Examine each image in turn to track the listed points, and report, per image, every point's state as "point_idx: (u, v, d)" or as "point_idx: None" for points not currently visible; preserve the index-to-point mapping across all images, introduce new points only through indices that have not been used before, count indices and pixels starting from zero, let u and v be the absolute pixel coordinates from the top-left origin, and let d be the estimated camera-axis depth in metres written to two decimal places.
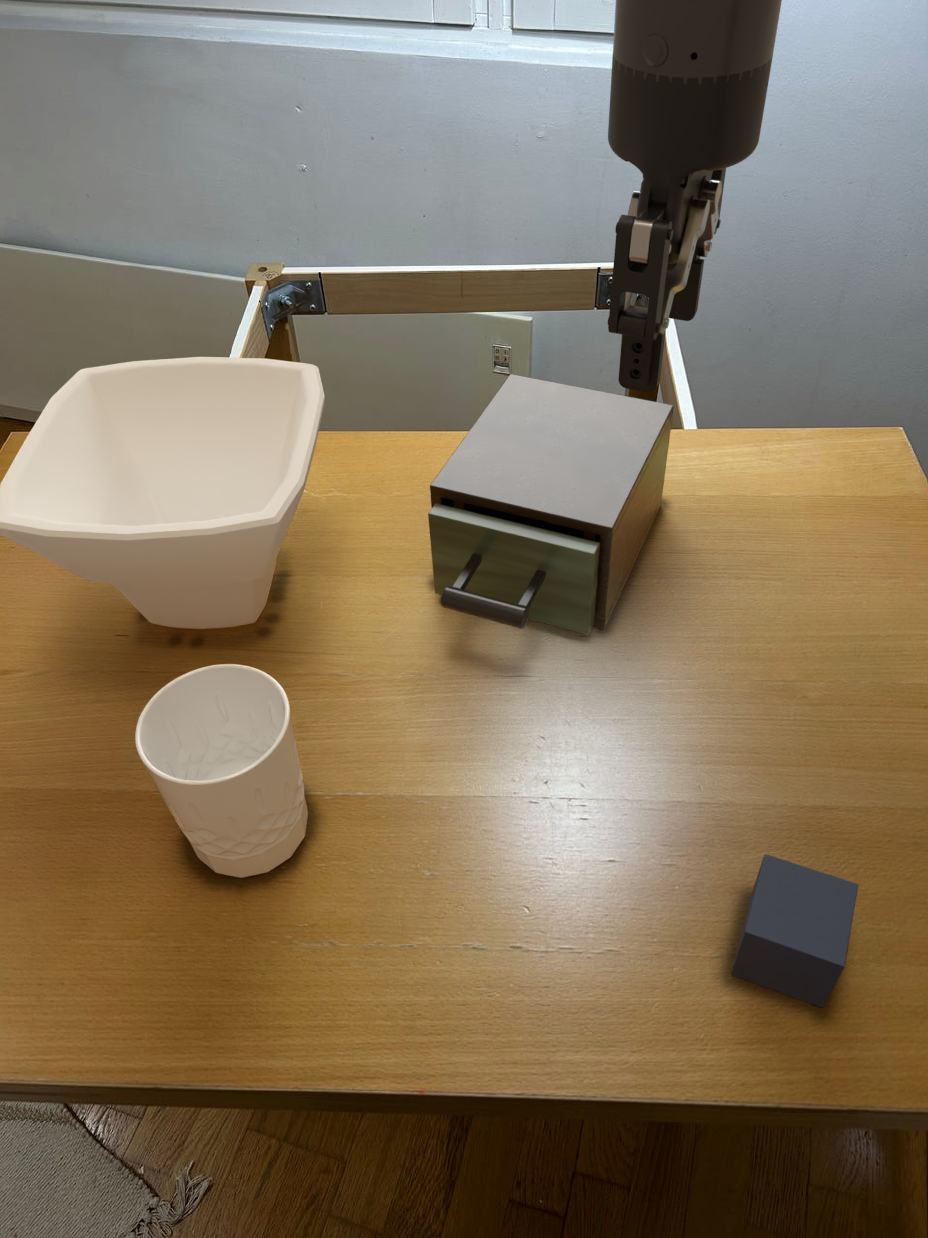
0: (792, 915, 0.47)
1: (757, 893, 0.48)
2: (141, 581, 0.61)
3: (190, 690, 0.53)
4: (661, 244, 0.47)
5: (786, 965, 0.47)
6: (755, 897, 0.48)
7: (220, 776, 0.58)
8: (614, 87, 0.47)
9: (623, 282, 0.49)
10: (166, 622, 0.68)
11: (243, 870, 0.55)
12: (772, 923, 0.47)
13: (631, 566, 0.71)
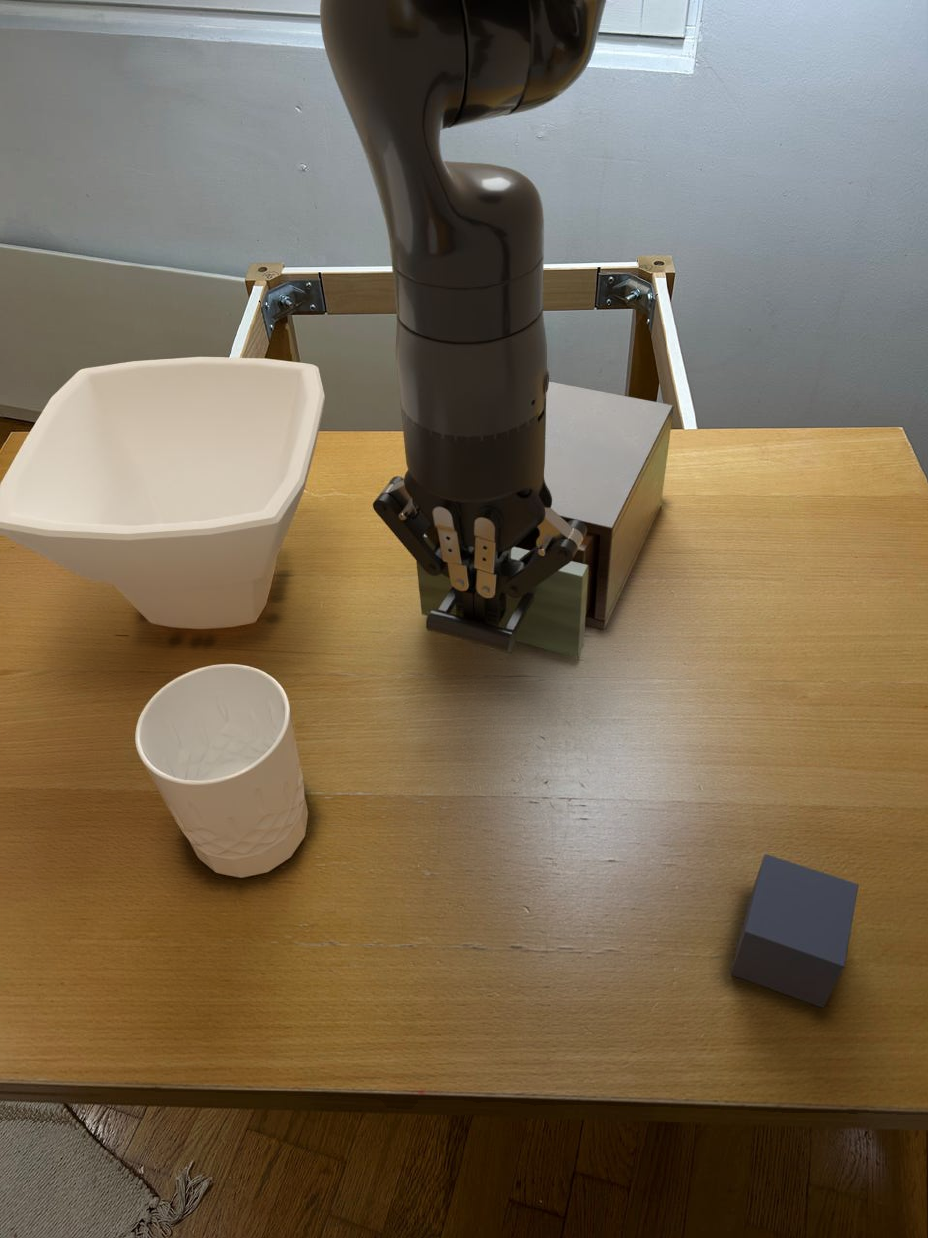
0: (792, 915, 0.47)
1: (757, 893, 0.48)
2: (141, 581, 0.61)
3: (190, 690, 0.53)
4: None
5: (786, 965, 0.47)
6: (755, 897, 0.48)
7: (220, 776, 0.58)
8: None
9: None
10: (166, 622, 0.68)
11: (243, 870, 0.55)
12: (772, 923, 0.47)
13: (631, 566, 0.71)
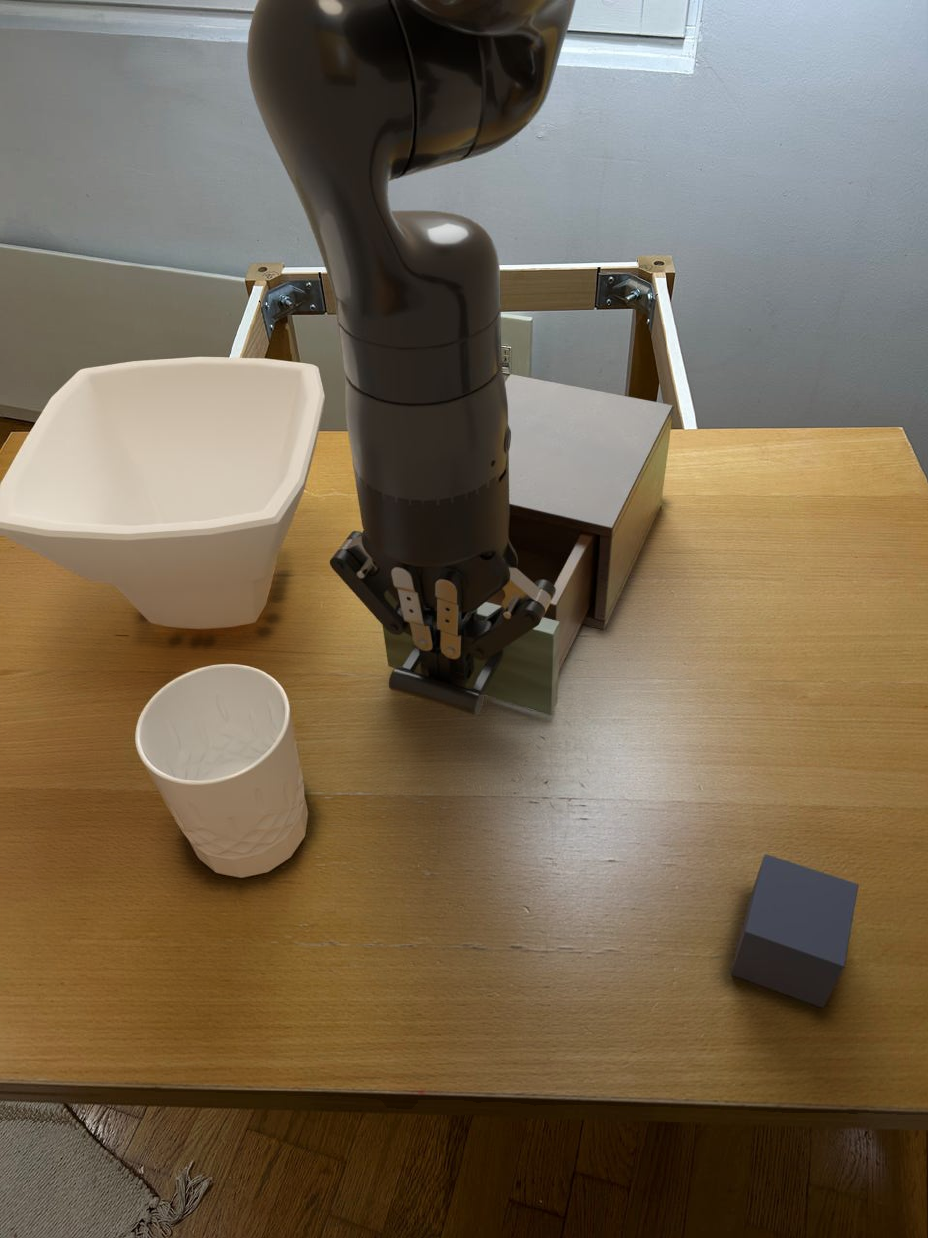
0: (792, 915, 0.47)
1: (757, 893, 0.48)
2: (141, 581, 0.61)
3: (190, 690, 0.53)
4: (337, 571, 0.55)
5: (786, 965, 0.47)
6: (755, 897, 0.48)
7: (220, 776, 0.58)
8: None
9: None
10: (166, 622, 0.68)
11: (243, 870, 0.55)
12: (772, 923, 0.47)
13: (631, 566, 0.71)
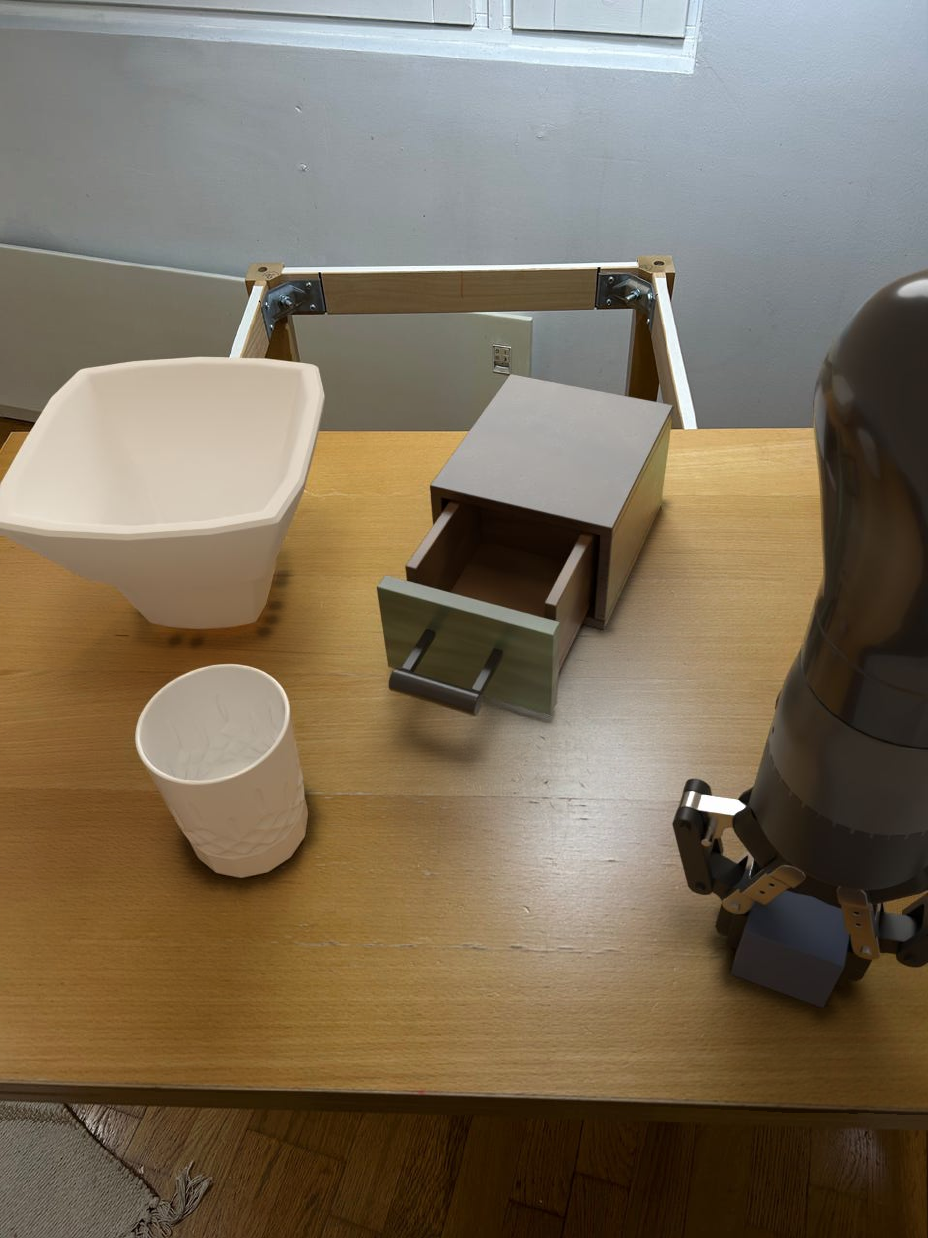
0: (792, 915, 0.47)
1: None
2: (141, 581, 0.61)
3: (190, 690, 0.53)
4: None
5: (786, 965, 0.47)
6: None
7: (220, 776, 0.58)
8: None
9: None
10: (166, 622, 0.68)
11: (243, 870, 0.55)
12: (772, 923, 0.47)
13: (631, 566, 0.71)
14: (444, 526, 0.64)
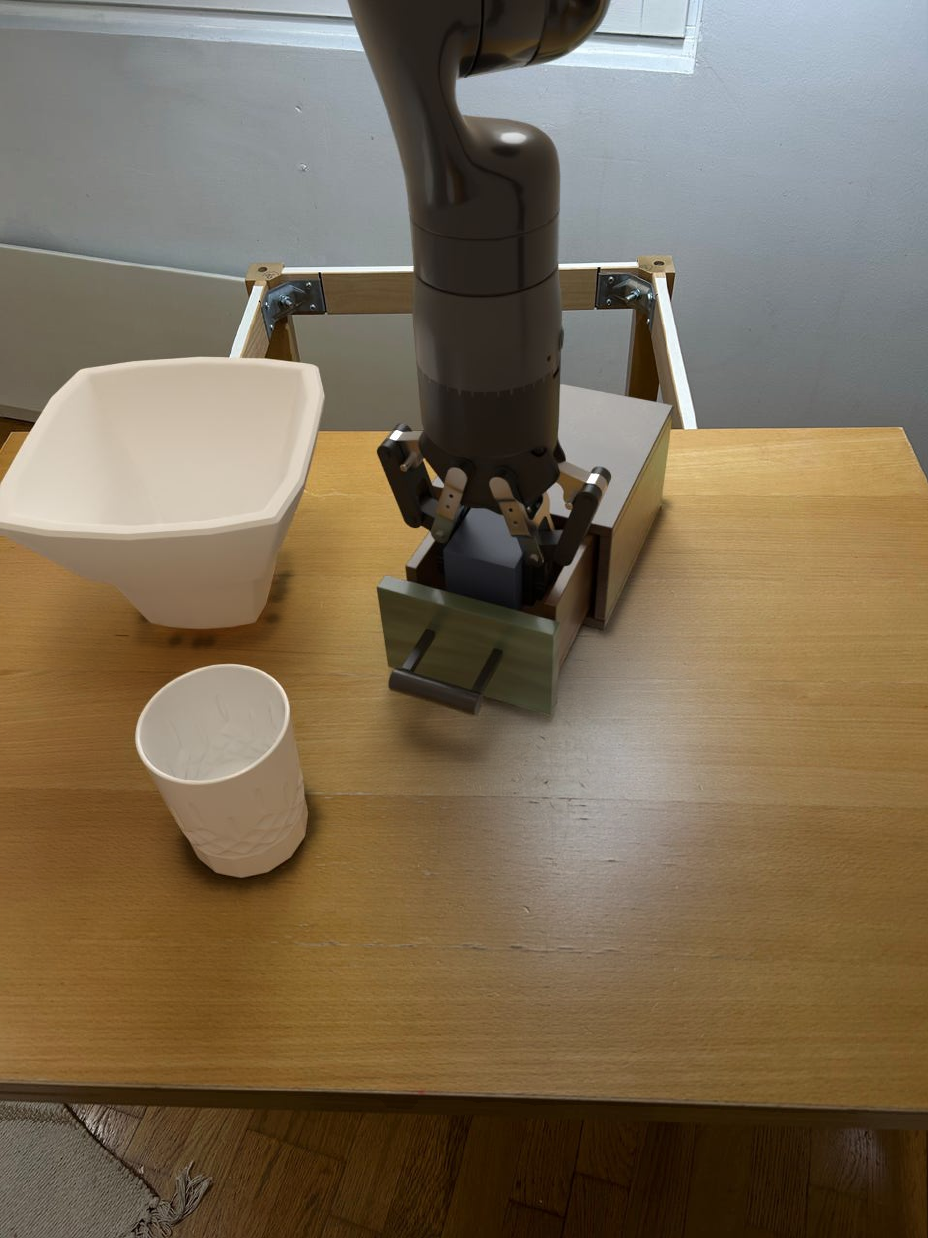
0: (483, 540, 0.59)
1: (459, 528, 0.60)
2: (141, 581, 0.61)
3: (190, 690, 0.53)
4: None
5: (478, 580, 0.59)
6: (457, 530, 0.60)
7: (220, 776, 0.58)
8: None
9: None
10: (166, 622, 0.68)
11: (243, 870, 0.55)
12: (465, 545, 0.59)
13: (631, 566, 0.71)
14: None
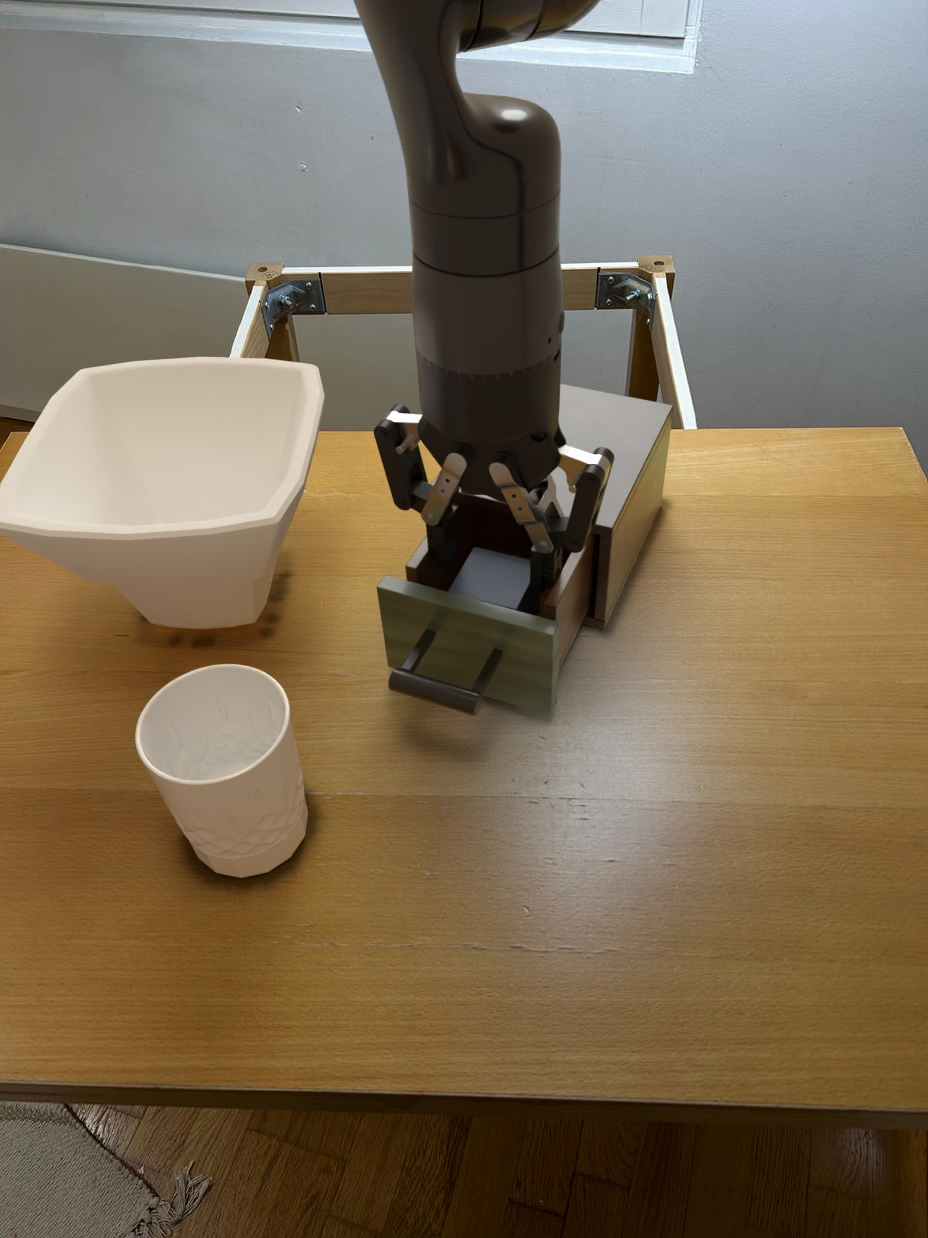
0: (485, 581, 0.62)
1: (462, 569, 0.63)
2: (141, 581, 0.61)
3: (190, 690, 0.53)
4: None
5: None
6: (460, 572, 0.63)
7: (220, 776, 0.58)
8: None
9: None
10: (166, 622, 0.68)
11: (243, 870, 0.55)
12: (468, 586, 0.62)
13: (631, 566, 0.71)
14: None
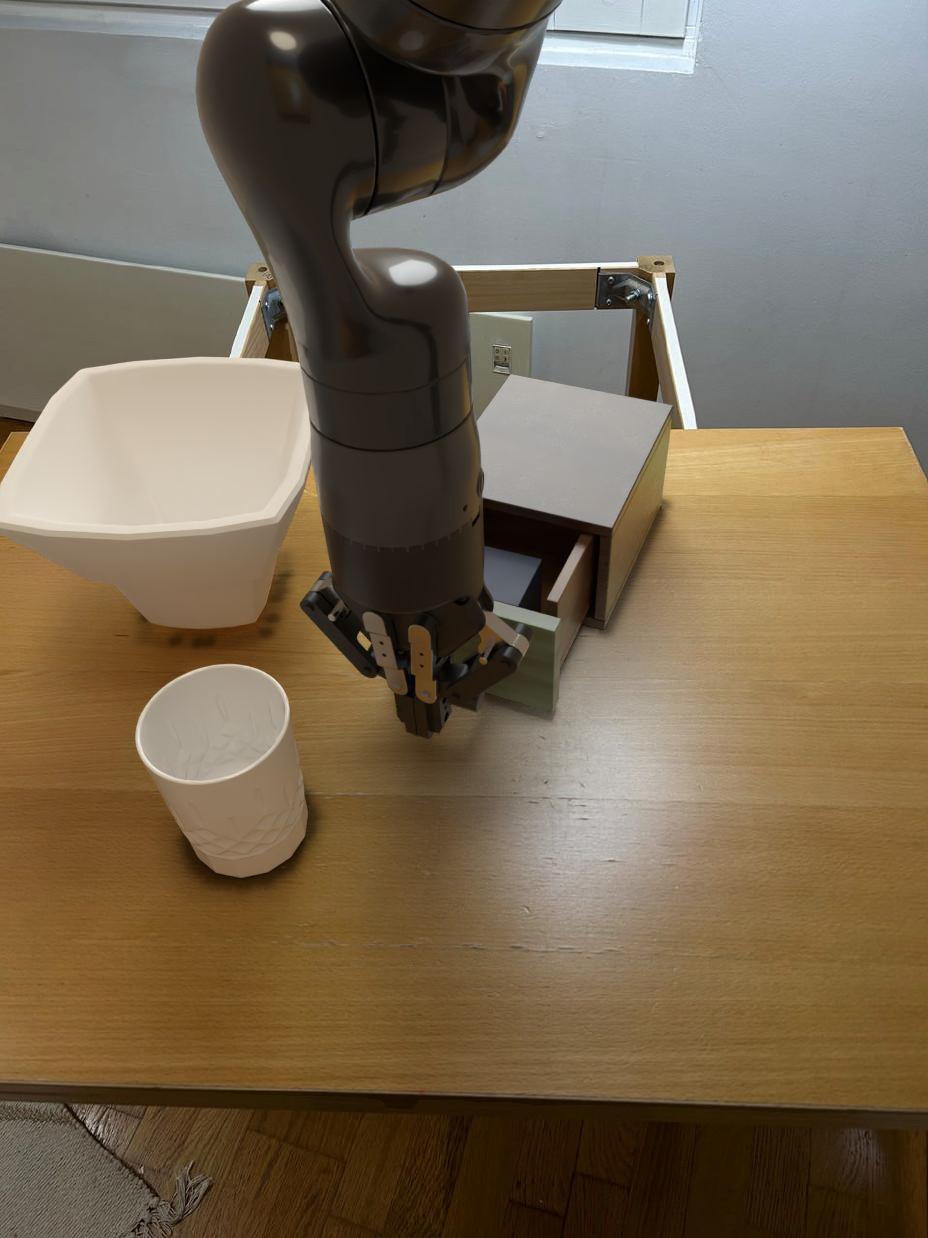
0: (487, 578, 0.62)
1: None
2: (141, 581, 0.61)
3: (190, 690, 0.53)
4: (307, 613, 0.53)
5: None
6: None
7: (220, 776, 0.58)
8: None
9: None
10: (166, 622, 0.68)
11: (243, 870, 0.55)
12: None
13: (631, 566, 0.71)
14: None
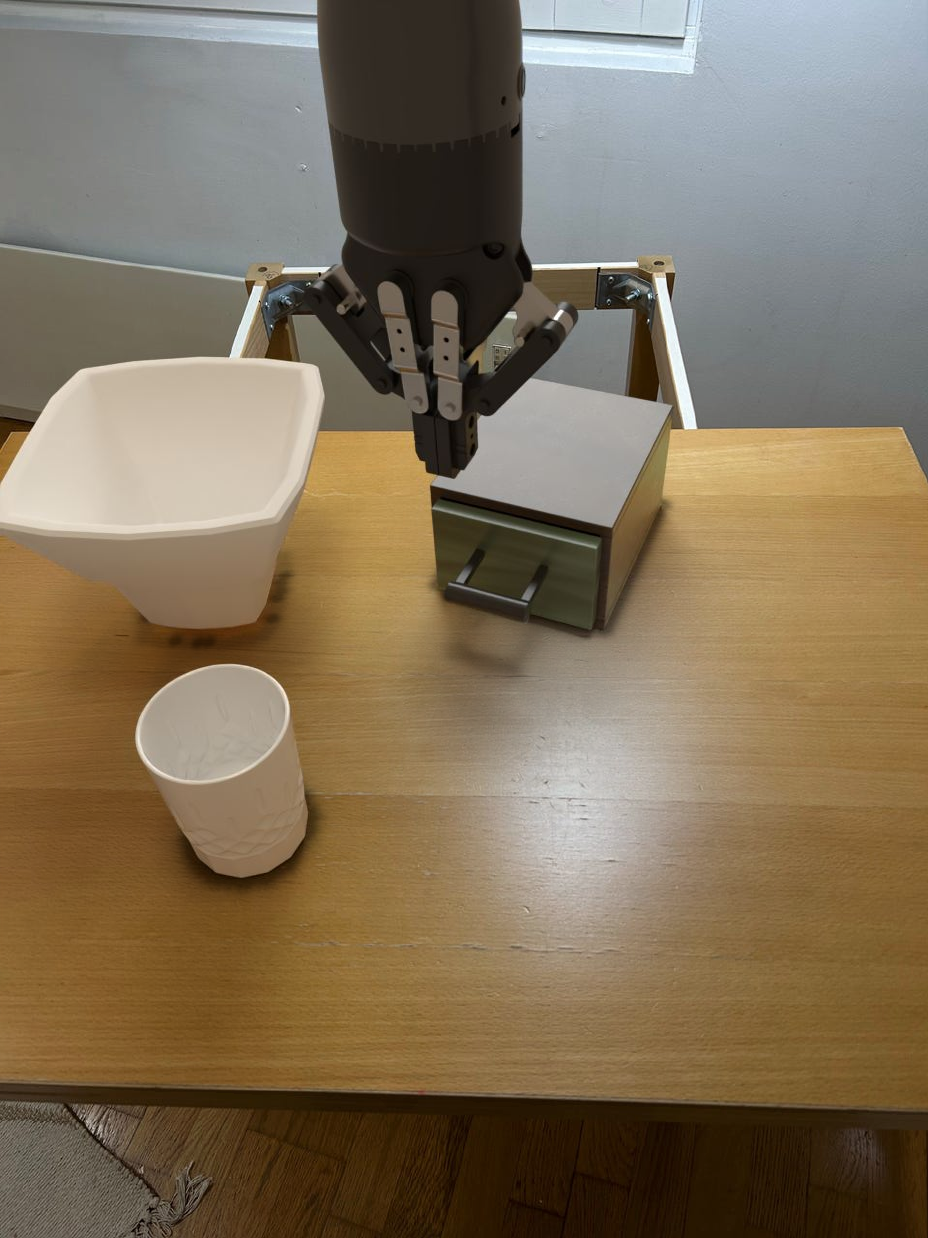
0: None
1: None
2: (141, 581, 0.61)
3: (190, 690, 0.53)
4: None
5: None
6: None
7: (220, 776, 0.58)
8: None
9: None
10: (166, 622, 0.68)
11: (243, 870, 0.55)
12: None
13: (631, 566, 0.71)
14: None
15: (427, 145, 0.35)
